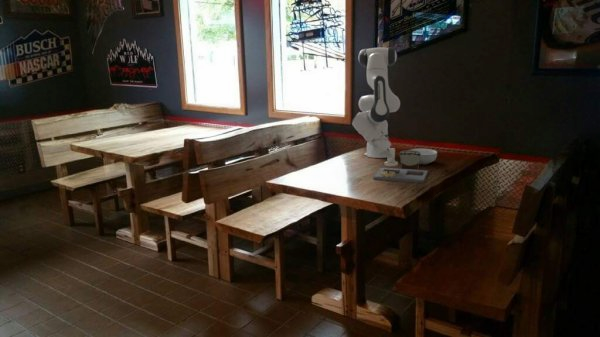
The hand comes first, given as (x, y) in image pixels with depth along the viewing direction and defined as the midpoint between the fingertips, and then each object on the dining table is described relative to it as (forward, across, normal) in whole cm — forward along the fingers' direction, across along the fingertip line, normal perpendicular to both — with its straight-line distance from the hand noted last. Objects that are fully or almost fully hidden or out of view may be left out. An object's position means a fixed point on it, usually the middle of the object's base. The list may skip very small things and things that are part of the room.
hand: (392, 156), depth 268 cm
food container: (+13, +17, +2) cm, 21 cm away
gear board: (+11, -2, +4) cm, 12 cm away
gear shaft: (+3, 0, +4) cm, 5 cm away
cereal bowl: (+16, +32, -1) cm, 36 cm away
